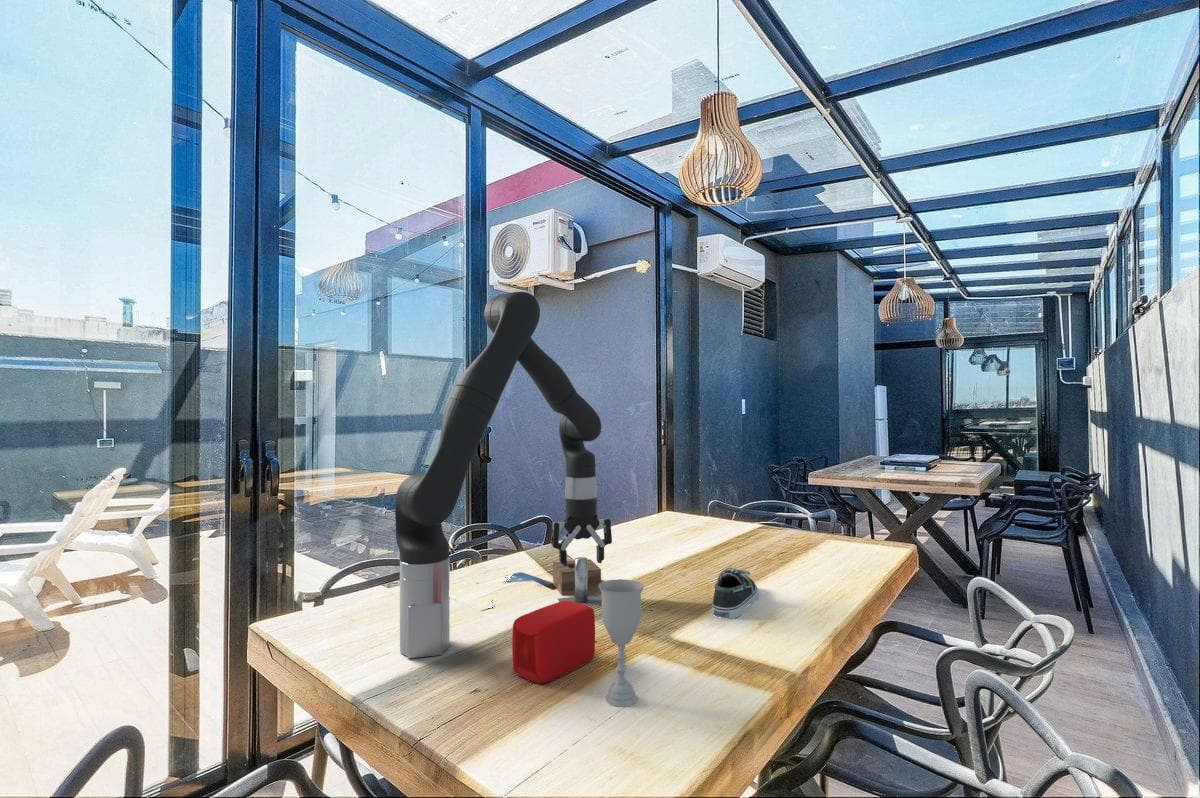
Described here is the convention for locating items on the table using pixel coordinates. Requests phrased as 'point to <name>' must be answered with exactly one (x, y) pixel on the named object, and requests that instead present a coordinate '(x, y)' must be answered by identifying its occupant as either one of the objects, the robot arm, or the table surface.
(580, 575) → the pin
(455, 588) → the table surface
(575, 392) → the robot arm
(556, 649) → the decorative item
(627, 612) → the chalice
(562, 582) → the socket block
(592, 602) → the mat
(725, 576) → the boat shoe
